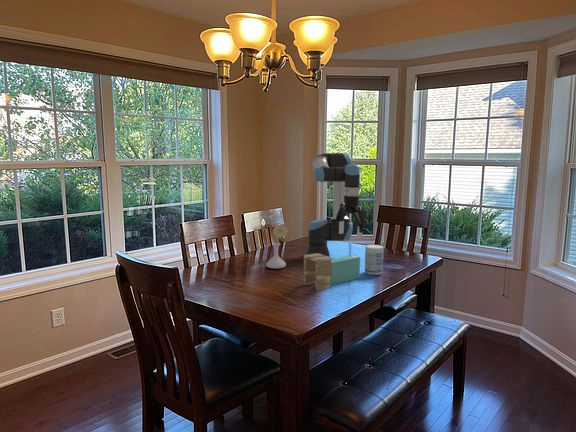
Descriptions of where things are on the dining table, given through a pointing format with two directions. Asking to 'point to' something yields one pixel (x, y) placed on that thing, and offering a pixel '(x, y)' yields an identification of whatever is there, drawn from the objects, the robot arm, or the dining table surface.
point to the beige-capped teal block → (345, 269)
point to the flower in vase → (276, 260)
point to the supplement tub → (374, 259)
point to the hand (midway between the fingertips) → (350, 235)
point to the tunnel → (317, 270)
